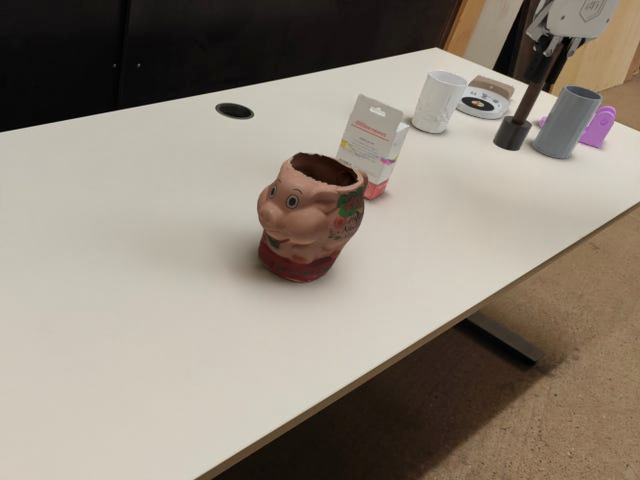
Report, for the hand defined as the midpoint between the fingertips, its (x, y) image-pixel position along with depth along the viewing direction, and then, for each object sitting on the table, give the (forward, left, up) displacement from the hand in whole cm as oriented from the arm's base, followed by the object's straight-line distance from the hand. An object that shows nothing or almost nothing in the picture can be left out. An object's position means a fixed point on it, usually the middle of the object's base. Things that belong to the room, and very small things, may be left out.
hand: (538, 79), depth 103 cm
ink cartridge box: (+4, +22, -20) cm, 31 cm away
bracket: (+26, -44, -20) cm, 55 cm away
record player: (+41, -31, -20) cm, 55 cm away
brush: (0, 0, -11) cm, 11 cm away
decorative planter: (-16, +42, -20) cm, 50 cm away
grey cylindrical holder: (+18, -32, -20) cm, 42 cm away
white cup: (+28, -8, -20) cm, 36 cm away
